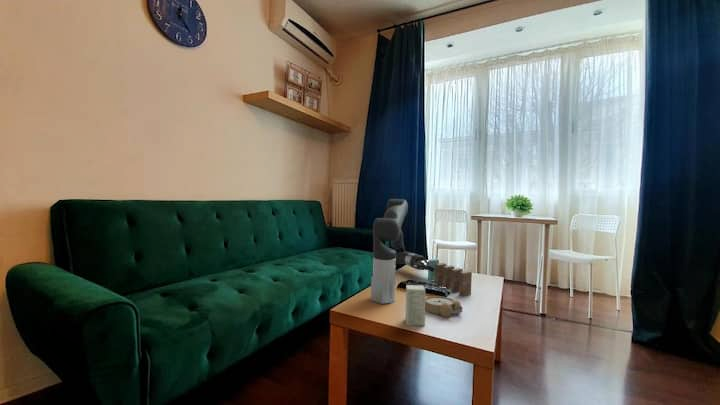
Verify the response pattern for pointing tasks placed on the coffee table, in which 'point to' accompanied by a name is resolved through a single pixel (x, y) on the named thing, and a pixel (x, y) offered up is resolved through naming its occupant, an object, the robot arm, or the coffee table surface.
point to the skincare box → (415, 305)
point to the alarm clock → (442, 305)
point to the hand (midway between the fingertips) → (437, 268)
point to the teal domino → (432, 274)
